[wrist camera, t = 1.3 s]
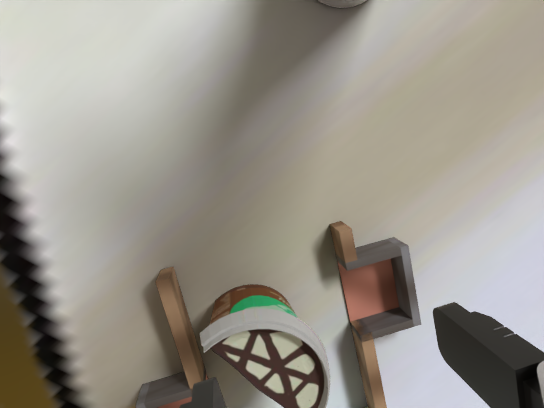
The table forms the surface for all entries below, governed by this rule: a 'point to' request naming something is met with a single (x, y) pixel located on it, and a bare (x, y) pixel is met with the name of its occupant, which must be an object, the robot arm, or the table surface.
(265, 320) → the food container
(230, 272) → the table surface
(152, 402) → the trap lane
